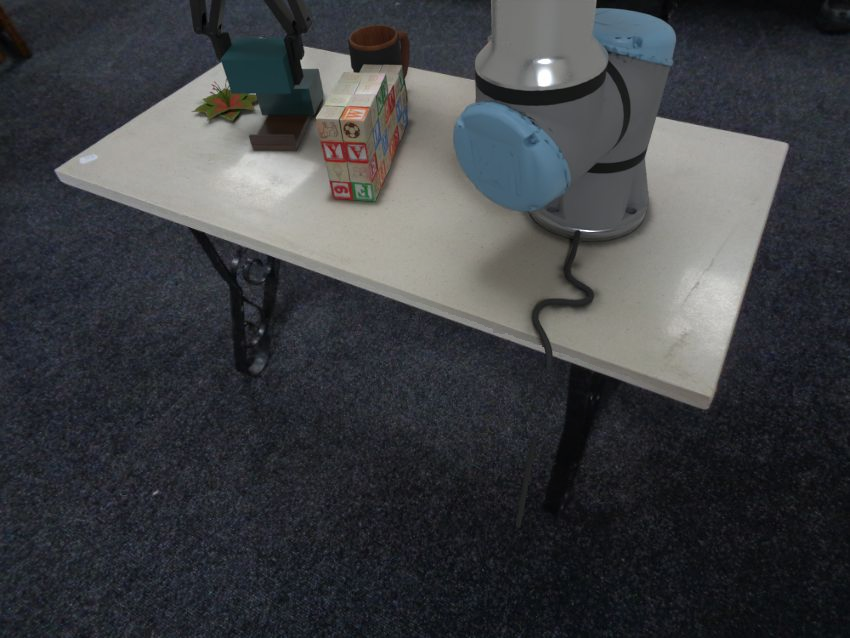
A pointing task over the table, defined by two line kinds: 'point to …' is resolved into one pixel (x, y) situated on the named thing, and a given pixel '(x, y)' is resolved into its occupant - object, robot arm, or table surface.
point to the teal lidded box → (288, 114)
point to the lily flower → (226, 103)
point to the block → (258, 66)
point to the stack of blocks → (362, 130)
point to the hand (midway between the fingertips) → (267, 80)
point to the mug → (379, 48)
